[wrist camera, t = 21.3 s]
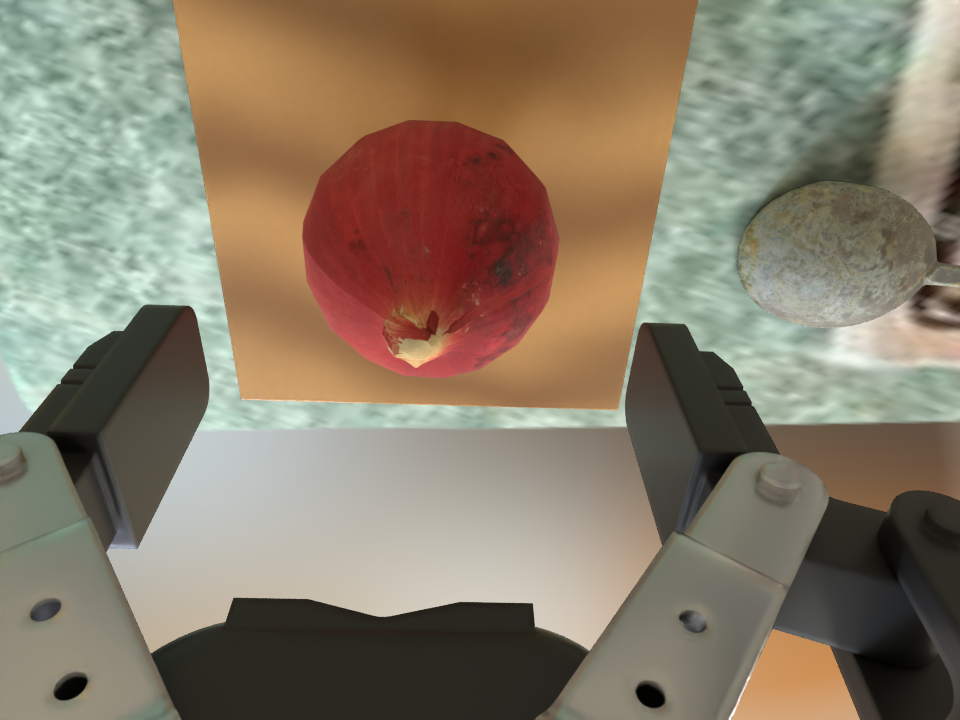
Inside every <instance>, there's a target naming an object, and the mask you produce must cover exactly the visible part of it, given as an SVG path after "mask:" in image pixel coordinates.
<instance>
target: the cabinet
mask: <svg viewBox="0 0 960 720" xmlns="http://www.w3.org/2000/svg"><path fill="white" fill-rule="evenodd" d="M697 4H698V0H173V5H174V11H175V16H176V22H177V28H178V34H179V40H180V46H181V52H182V57H183V63H184V69H185V75H186V81H187V87H188V92H189V98H190V104H191V110H192V116H193V122H194V127H195V133H196V139H197V145H198V151H199V157H200V163H201V168H202V174H203V180H204V186H205V192H206V198H207V203H208V209H209V215H210V221H211V227H212V233H213V238H214V244H215V250H216V256H217V262H218V268H219V274H220V279H221V285H222V291H223V297H224V303H225V309H226V314H227V320H228V326H229V332H230V338H231V344H232V349H233V355H234V361H235V367H236V373H237V379H238V385H239V390H240V396H241V399H242V400H274V401H311V402H347V403H383V404H419V405H455V406H491V407H528V408H564V409H600V410H618V408H619V403H620V398H621V392H622V387H623V382H624V377H625V372H626V367H627V362H628V357H629V351H630V346H631V341H632V336H633V331H634V326H635V321H636V316H637V311H638V305H639V300H640V295H641V290H642V285H643V280H644V275H645V270H646V264H647V259H648V254H649V249H650V244H651V239H652V234H653V229H654V224H655V218H656V213H657V208H658V203H659V198H660V193H661V188H662V183H663V178H664V172H665V167H666V162H667V157H668V152H669V147H670V142H671V137H672V131H673V126H674V121H675V116H676V111H677V106H678V101H679V96H680V91H681V85H682V80H683V75H684V70H685V65H686V60H687V55H688V50H689V44H690V39H691V34H692V29H693V24H694V19H695V14H696V9H697ZM407 120H424V121H449V122H459V123H461V124H464V125H466V126H469V127H471V128H474V129H476V130H479V131H482V132H484V133H487V134H489V135H492V136H494V137H497V138H499V139H502V140H504V141H505V142H506V143H507V144H508V145H509V146H510V147H511V148H512V149H513V150H514V152H515V153H516V154H517V155H518V156H519V157H520V158H521V159H522V160H523V162H524V163H525V164H526V165H527V166H528V167H529V168H530V169H531V170H532V172H533V173H534V174H535V175H536V176H537V177H538V178H539V180H540V181H541V182H542V183H543V185H544V186H545V187H546V191H547V194H548V198H549V202H550V205H551V209H552V213H553V216H554V220H555V224H556V227H557V231H558V235H559V247H558V255H557V260H556V265H555V270H554V276H553V281H552V286H551V291H550V296H549V300H548V302H547V304H546V306H545V308H544V309H543V311H542V312H541V314H540V315H539V316H538V318H537V319H536V320H535V322H534V323H533V325H532V326H531V327H530V329H529V330H528V331H527V333H526V334H525V335H524V337H523V338H522V339H521V341H520V342H519V343H518V344H517V345H516V346H515V347H513V348H512V349H510V350H509V351H507V352H506V353H504V354H503V355H501V356H500V357H498V358H497V359H495V360H493V361H492V362H490V363H489V364H487V365H486V366H484V367H483V368H481V369H480V370H476V371H472V372H468V373H464V374H460V375H456V376H452V377H448V378H444V379H442V378H429V377H415V376H403V375H401V374H399V373H397V372H394V371H392V370H390V369H387V368H385V367H383V366H380V365H378V364H376V363H373V362H371V361H369V360H367V359H366V358H364V357H363V356H362V355H361V354H360V353H358V352H357V351H356V350H355V349H354V348H353V347H351V346H350V345H349V344H348V343H347V342H346V341H344V340H343V339H342V338H341V337H340V336H339V335H337V334H336V333H335V332H334V331H333V330H332V329H331V328H330V326H329V324H328V322H327V320H326V318H325V317H324V315H323V313H322V311H321V309H320V307H319V305H318V303H317V301H316V299H315V297H314V295H313V293H312V291H311V289H310V287H309V285H308V283H307V278H306V269H305V260H304V250H303V241H302V232H303V221H304V218H305V215H306V213H307V210H308V207H309V205H310V202H311V199H312V197H313V194H314V191H315V189H316V186H317V183H318V181H319V178H320V176H321V175H322V174H323V173H324V172H325V171H326V170H327V169H328V168H329V167H331V166H332V165H333V164H334V163H335V162H336V161H337V160H338V159H339V158H340V157H341V156H342V155H343V154H344V153H345V152H346V151H347V150H348V149H350V148H351V147H352V146H353V145H354V144H355V143H356V142H357V141H358V140H360V139H361V138H362V137H364V136H365V135H368V134H371V133H374V132H376V131H379V130H382V129H385V128H387V127H390V126H393V125H396V124H399V123H401V122H404V121H407Z"/></svg>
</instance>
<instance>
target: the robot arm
mask: <svg viewBox="0 0 960 720" xmlns="http://www.w3.org/2000/svg"><path fill="white" fill-rule="evenodd" d="M208 399H209V378H208V372H207V367H206V362H205V357H204V352H203V347H202V343H201V338H200V333H199V328H198V323H197V318H196V315H195V312H194V310H193V309H192V308H191V307H190V306H176V305H144V306H143V307H142V308H141V309H140V310H139V312H138V313H137V314H136V315H135V317H134V318H133V319H132V321H131V322H130V323H129V325H128V326H127V327H126V328H125V330H124V331H113V332H111V333H110V334H108V335H106V336H105V337H103V338H101V339H100V340H98V341H97V342H95V343H93V344H92V345H90V346H89V347H88V348H87V349H86V350H85V351H84V353H83V354H82V355H81V356H80V357H79V359H78V360H77V361H76V362H75V364H74V365H73V369H70V370H69V371H68V372H67V373H66V375H65V376H64V377H63V378H62V379H61V384H57V386H56V387H55V388H54V389H53V390H52V392H51V393H50V394H49V395H48V397H47V398H46V399H45V400H44V401H43V403H42V404H41V405H40V406H39V408H38V409H37V410H36V411H35V412H34V414H33V415H32V416H31V417H30V419H29V420H28V421H27V422H26V423H25V425H24V426H23V427H22V429H21V430H20V431H19V432H15V433H8V434H3V435H0V720H731V719H732V717H733V714H734V712H735V710H736V708H737V706H738V703H739V701H740V699H741V697H742V695H743V692H744V690H745V688H746V686H747V684H748V682H749V679H750V677H751V675H752V673H753V670H754V668H755V666H756V664H757V662H758V659H759V657H760V655H761V653H762V651H763V649H764V646H765V644H766V642H767V640H768V638H769V636H770V633H771V631H772V629H776V630H779V631H782V632H786V633H789V634H792V635H796V636H799V637H802V638H806V639H809V640H812V641H816V642H819V643H822V644H826V645H829V646H830V647H831V649H832V652H833V654H834V656H835V659H836V662H837V664H838V667H839V669H840V671H841V674H842V676H843V679H844V681H845V684H846V686H847V688H848V691H849V693H850V696H851V698H852V701H853V703H854V705H855V708H856V711H857V713H858V716H859V718H860V720H960V501H959V500H956V499H954V498H952V497H949V496H946V495H943V494H939V493H935V492H930V491H908V492H904V493H901V494H900V495H898V496H896V498H895V499H894V500H893V502H892V503H891V505H890V507H889V509H888V511H887V512H883V511H879V510H875V509H871V508H867V507H863V506H860V505H856V504H851V503H848V502H844V501H840V500H837V499H834V498H831V497H829V495H828V492H827V489H826V487H825V485H824V483H823V482H822V481H821V479H820V478H819V477H818V476H817V475H816V474H815V473H814V472H813V471H811V470H810V469H809V468H807V467H805V466H804V465H802V464H801V463H799V462H797V461H795V460H793V459H790V458H787V457H785V456H782V455H780V453H779V451H778V450H777V448H776V446H775V444H774V442H773V440H772V439H771V437H770V435H769V433H768V431H767V429H766V428H765V426H764V424H763V422H762V420H761V418H760V417H759V415H758V413H757V411H756V409H755V408H754V406H752V405H751V404H752V402H751V400H750V398H749V397H748V395H747V393H746V391H743V386H742V384H741V382H740V380H739V378H738V376H737V375H736V373H735V371H734V369H733V368H732V367H731V366H730V365H728V364H727V363H726V362H725V361H723V360H722V359H721V358H720V357H719V356H717V355H716V354H715V353H714V352H704V351H699V350H698V348H697V346H696V344H695V342H694V340H693V338H692V336H691V334H690V332H689V330H688V328H687V326H686V325H685V324H671V323H643V324H642V325H641V327H640V329H639V332H638V337H637V342H636V347H635V352H634V356H633V361H632V366H631V371H630V376H629V381H628V386H627V391H626V400H625V415H626V423H627V427H628V431H629V434H630V437H631V441H632V444H633V448H634V451H635V455H636V458H637V461H638V465H639V468H640V472H641V475H642V479H643V482H644V485H645V489H646V492H647V496H648V499H649V502H650V506H651V509H652V512H653V516H654V519H655V523H656V526H657V530H658V533H659V536H660V540H661V543H662V548H661V549H660V550H659V552H658V553H657V555H656V556H655V558H654V559H653V561H652V562H651V564H650V565H649V566H648V568H647V569H646V571H645V572H644V574H643V575H642V577H641V578H640V579H639V581H638V582H637V584H636V585H635V587H634V588H633V590H632V591H631V592H630V594H629V595H628V597H627V598H626V600H625V601H624V602H623V604H622V605H621V607H620V608H619V610H618V611H617V613H616V614H615V615H614V617H613V618H612V620H611V621H610V623H609V624H608V626H607V627H606V629H605V630H604V631H603V633H602V634H601V636H600V637H599V639H598V640H597V642H596V643H595V644H594V646H593V647H592V649H591V650H590V651H589V650H587V649H586V648H584V647H583V646H581V645H580V644H578V643H576V642H573V641H572V640H570V639H568V638H566V637H564V636H561V635H559V634H556V633H553V632H551V631H548V630H545V629H541V628H538V627H535V623H534V612H533V604H532V603H530V604H529V603H482V602H481V603H479V602H459V603H453V604H449V605H443V606H439V607H434V608H429V609H424V610H419V611H414V612H409V613H405V614H400V615H395V616H390V617H377V616H372V615H368V614H364V613H360V612H356V611H352V610H348V609H345V608H340V607H336V606H332V605H328V604H325V603H321V602H317V601H313V600H309V599H270V598H269V599H267V598H233V601H232V604H231V607H230V610H229V613H228V616H227V620H226V622H224V623H219V624H215V625H212V626H209V627H205V628H202V629H199V630H196V631H194V632H191V633H189V634H187V635H184V636H182V637H179V638H178V639H176V640H174V641H172V642H170V643H168V644H166V645H164V646H162V647H161V648H159V649H157V650H156V651H154V652H153V653H150V651H149V649H148V647H147V645H146V642H145V640H144V638H143V635H142V633H141V631H140V628H139V626H138V624H137V622H136V620H135V617H134V615H133V613H132V610H131V608H130V606H129V604H128V601H127V599H126V597H125V594H124V592H123V590H122V588H121V585H120V583H119V581H118V579H117V576H116V574H115V572H114V570H113V567H112V565H111V563H110V561H109V558H108V556H107V554H106V552H107V550H108V548H119V549H121V548H122V549H138V547H139V545H140V542H141V541H142V538H143V536H144V534H145V532H146V530H147V528H148V526H149V524H150V522H151V520H152V518H153V516H154V514H155V512H156V510H157V508H158V506H159V504H160V502H161V500H162V498H163V496H164V494H165V492H166V490H167V488H168V486H169V484H170V482H171V480H172V478H173V476H174V474H175V472H176V470H177V468H178V466H179V464H180V462H181V460H182V458H183V456H184V454H185V452H186V450H187V448H188V446H189V444H190V442H191V440H192V438H193V436H194V433H195V432H196V430H197V428H198V426H199V424H200V422H201V420H202V418H203V416H204V414H205V411H206V408H207V405H208Z"/></svg>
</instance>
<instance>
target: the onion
mask: <svg viewBox="0 0 960 720" xmlns="http://www.w3.org/2000/svg"><path fill="white" fill-rule="evenodd" d="M302 241H303V250H304V260H305V269H306V278H307V283H308V285H309V287H310V289H311V291H312V293H313V295H314V297H315V299H316V301H317V303H318V305H319V307H320V309H321V311H322V313H323V315H324V317H325V318H326V320H327V322H328V324H329V326H330V328H331V329H332V330H333V331H334V332H335V333H336V334H337V335H339V336H340V337H341V338H342V339H343V340H344V341H346V342H347V343H348V344H349V345H350V346H351V347H353V348H354V349H355V350H356V351H357V352H358V353H360V354H361V355H362V356H363V357H364V358H366V359H367V360H369V361H371V362H373V363H376V364H378V365H380V366H383V367H385V368H387V369H390V370H392V371H394V372H397V373H399V374H401V375H403V376H415V377H429V378H442V379H444V378H448V377H452V376H456V375H460V374H464V373H468V372H472V371H476V370H480V369H481V368H483V367H484V366H486V365H487V364H489V363H490V362H492V361H493V360H495V359H497V358H498V357H500V356H501V355H503V354H504V353H506V352H507V351H509V350H510V349H512V348H513V347H515V346H516V345H517V344H518V343H519V342H520V341H521V339H522V338H523V337H524V335H525V334H526V333H527V331H528V330H529V329H530V327H531V326H532V325H533V323H534V322H535V320H536V319H537V318H538V316H539V315H540V314H541V312H542V311H543V309H544V308H545V306H546V304H547V302H548V300H549V296H550V291H551V286H552V281H553V276H554V270H555V265H556V260H557V255H558V247H559V235H558V231H557V227H556V224H555V220H554V216H553V213H552V209H551V205H550V202H549V198H548V194H547V191H546V187H545V186H544V185H543V183H542V182H541V181H540V180H539V178H538V177H537V176H536V175H535V174H534V173H533V172H532V170H531V169H530V168H529V167H528V166H527V165H526V164H525V163H524V162H523V160H522V159H521V158H520V157H519V156H518V155H517V154H516V153H515V152H514V150H513V149H512V148H511V147H510V146H509V145H508V144H507V143H506V142H505V141H504V140H502V139H499V138H497V137H494V136H492V135H489V134H487V133H484V132H482V131H479V130H476V129H474V128H471V127H469V126H466V125H464V124H461V123H459V122H449V121H424V120H407V121H404V122H401V123H399V124H396V125H393V126H390V127H387V128H385V129H382V130H379V131H376V132H374V133H371V134H368V135H365V136H364V137H362V138H361V139H360V140H358V141H357V142H356V143H355V144H354V145H353V146H352V147H351V148H350V149H348V150H347V151H346V152H345V153H344V154H343V155H342V156H341V157H340V158H339V159H338V160H337V161H336V162H335V163H334V164H333V165H332V166H331V167H329V168H328V169H327V170H326V171H325V172H324V173H323V174H322V175H321V176H320V178H319V181H318V183H317V186H316V189H315V191H314V194H313V197H312V199H311V202H310V205H309V207H308V210H307V213H306V215H305V218H304V221H303V232H302Z"/></svg>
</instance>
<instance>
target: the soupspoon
mask: <svg viewBox="0 0 960 720" xmlns="http://www.w3.org/2000/svg"><path fill="white" fill-rule="evenodd" d="M738 255H739V257H738V260H737V262H738V270H739V275H740V279H741V282H742V284H743V287H744V289H745V290H746V292H747V293H748V294H749V296H750V297H751V299H752V300H753V301H755V303H757V304H758V305H759V306H760V307H762V308H763V309H764V310H766V311H767V312H769V313H771V314H772V315H774V316H776V317H778V318H780V319H782V320H785V321H789V322H792V323H795V324H799V325H802V326H808V327H818V328H836V327H845V326H852V325H857V324H861V323H864V322H868V321H870V320H873V319H875V318H878V317H880V316H882V315H884V314H886V313H888V312H890V311H891V310H893V309H895V308H897V307H898V306H900V305H901V304H902V303H904V302H905V301H906V300H908V299H909V298H910V297H911V296H912V295H914V294H915V293H916V292H917V291H918V290H919V289H920V288H921V287H922V286H924V285H927V284H928V285H940V286H947V287H957V288H960V266H959V265H951V264H945V263H940V262H937V255H936V242H935V238H934V235H933V231H932V229H931V227H930V225H929V224H928V223H927V222H926V220H925V219H924V218H923V216H922V215H921V214H920V213H919V212H918V211H917V209H916V208H914V207H913V205H911V204H910V203H908V202H907V201H906V200H904V199H903V198H901V197H899V196H897V195H895V194H892V193H890V192H889V191H887V190H884V189H882V188H876V187H870V186H866V185H860V184H854V183H846V182H838V181H833V180H832V181H820V182H816V183H813V184H810V185H805V186H803V187H801V188H800V187H798V189H796V190H792V191H788V192H786V193H785V194H784V195H781V196H780V197H778V198H776V199H774V200H773V201H772V202H770V203H769V204H768V205H767V206H766V207H764V208H763V209H762V210H761V211H760V212H759V213H758V214H757V215H756V216H755V217H754V219H753V220H752V221H751V222H750V223H749V224H748V226H747V228H746V229H745V231H744V234H743V237H742V240H741V242H740V244H739V250H738Z"/></svg>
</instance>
